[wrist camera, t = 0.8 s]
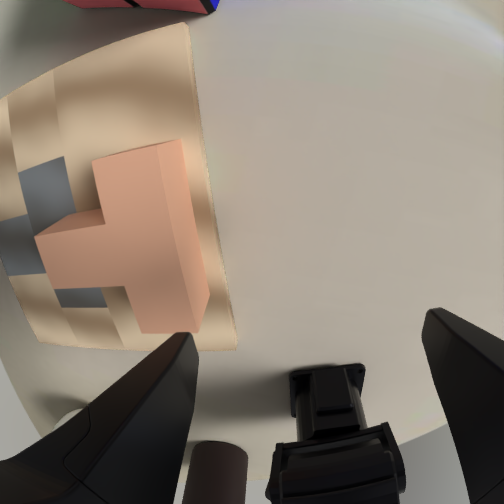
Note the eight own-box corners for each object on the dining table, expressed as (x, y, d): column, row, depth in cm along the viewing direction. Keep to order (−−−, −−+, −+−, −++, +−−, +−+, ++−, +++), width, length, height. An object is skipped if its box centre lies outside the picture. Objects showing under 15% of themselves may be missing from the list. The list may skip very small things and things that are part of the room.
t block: (210, 294, 20) (198, 333, 16) (96, 299, 21) (71, 331, 17) (180, 138, 16) (156, 145, 12) (58, 169, 17) (19, 183, 13)
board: (237, 339, 23) (236, 350, 22) (45, 335, 25) (39, 342, 24) (188, 27, 14) (183, 21, 13) (-21, 119, 16) (-30, 120, 15)
